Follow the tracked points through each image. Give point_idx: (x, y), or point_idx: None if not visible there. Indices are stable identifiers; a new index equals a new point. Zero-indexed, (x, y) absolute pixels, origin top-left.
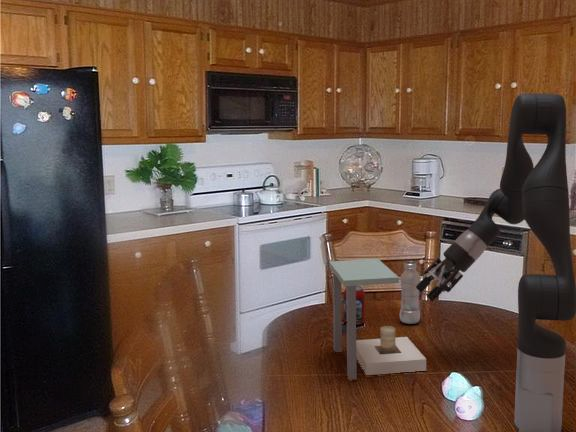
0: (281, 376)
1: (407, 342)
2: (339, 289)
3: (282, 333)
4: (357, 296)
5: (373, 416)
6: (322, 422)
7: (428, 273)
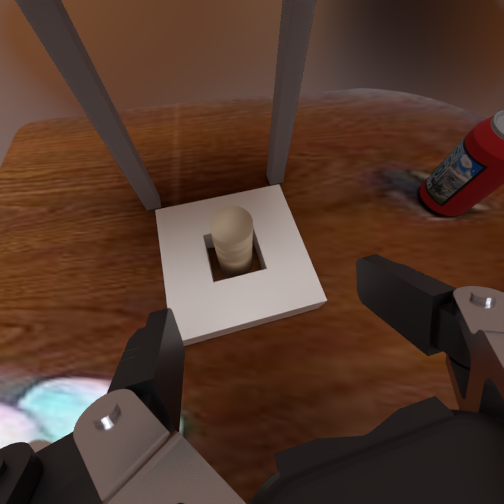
0: (171, 118)
1: (285, 299)
2: (287, 23)
3: (341, 103)
4: (480, 149)
5: (5, 237)
6: (12, 172)
7: (501, 320)
